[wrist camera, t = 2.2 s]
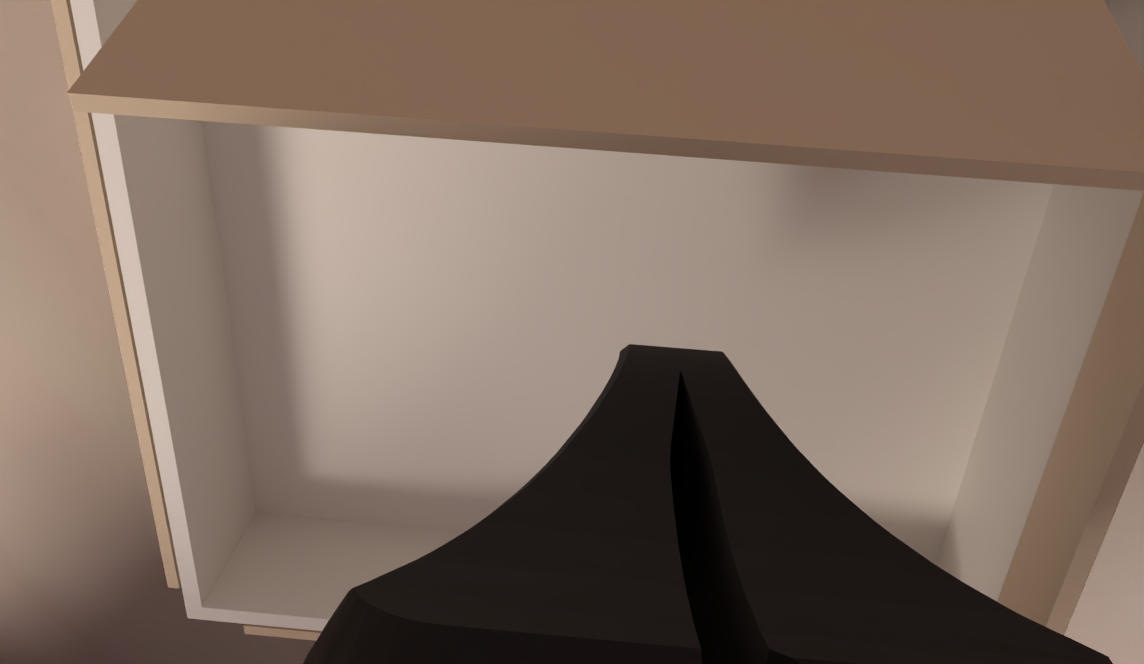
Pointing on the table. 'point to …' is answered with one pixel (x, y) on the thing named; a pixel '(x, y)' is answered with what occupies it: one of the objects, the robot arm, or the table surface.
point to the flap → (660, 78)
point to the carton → (557, 330)
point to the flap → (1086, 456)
